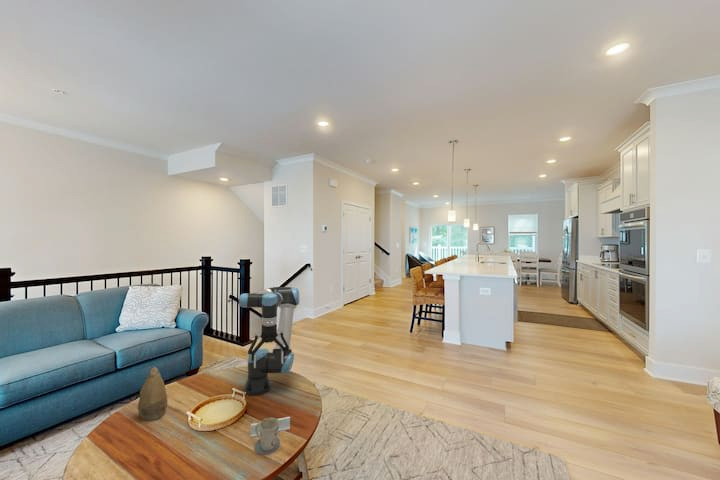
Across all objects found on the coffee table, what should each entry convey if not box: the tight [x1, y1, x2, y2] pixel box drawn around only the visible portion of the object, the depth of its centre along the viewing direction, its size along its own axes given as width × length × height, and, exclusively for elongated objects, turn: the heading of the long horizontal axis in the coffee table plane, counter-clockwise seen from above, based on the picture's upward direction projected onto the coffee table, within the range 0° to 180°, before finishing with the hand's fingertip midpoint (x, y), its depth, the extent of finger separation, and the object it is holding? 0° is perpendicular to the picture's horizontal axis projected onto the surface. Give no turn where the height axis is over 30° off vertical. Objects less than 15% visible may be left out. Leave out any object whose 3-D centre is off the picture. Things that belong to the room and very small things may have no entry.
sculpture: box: [137, 366, 168, 421], centre depth 145 cm, size 12×11×25 cm
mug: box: [255, 417, 279, 451], centre depth 127 cm, size 8×13×10 cm, turn 67°
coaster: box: [253, 437, 281, 456], centre depth 127 cm, size 11×11×1 cm
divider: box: [250, 416, 291, 439], centre depth 136 cm, size 3×18×5 cm, turn 111°
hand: (268, 364), depth 147 cm, fingers open, 13 cm apart
